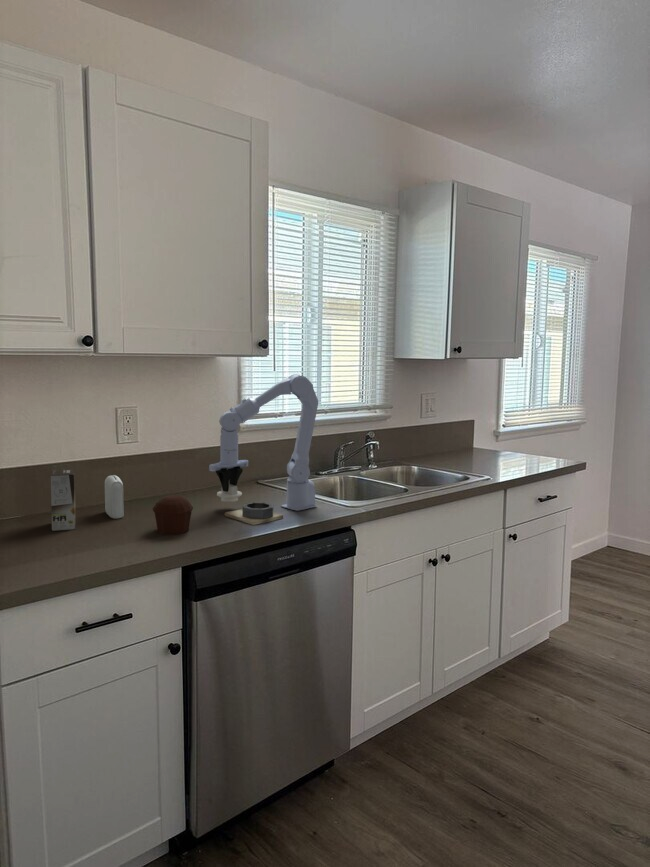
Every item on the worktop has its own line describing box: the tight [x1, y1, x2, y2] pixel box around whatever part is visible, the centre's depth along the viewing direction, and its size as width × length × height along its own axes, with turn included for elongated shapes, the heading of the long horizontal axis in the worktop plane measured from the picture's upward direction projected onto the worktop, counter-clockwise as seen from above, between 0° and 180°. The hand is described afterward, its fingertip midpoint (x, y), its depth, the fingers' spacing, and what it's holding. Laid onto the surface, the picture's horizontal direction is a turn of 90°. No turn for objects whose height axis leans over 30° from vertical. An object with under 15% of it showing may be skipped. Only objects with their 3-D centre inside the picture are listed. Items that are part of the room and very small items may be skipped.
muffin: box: [152, 494, 194, 536], centre depth 189 cm, size 12×11×10 cm
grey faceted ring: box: [242, 501, 274, 519], centre depth 205 cm, size 9×9×3 cm
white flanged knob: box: [216, 484, 243, 503], centre depth 214 cm, size 8×8×5 cm
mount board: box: [224, 508, 284, 526], centre depth 206 cm, size 12×14×1 cm
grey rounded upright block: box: [104, 474, 125, 519], centre depth 204 cm, size 10×4×12 cm, turn 29°
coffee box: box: [49, 468, 76, 532], centre depth 190 cm, size 9×6×16 cm
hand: (229, 490), depth 214 cm, fingers closed on white flanged knob, 2 cm apart
